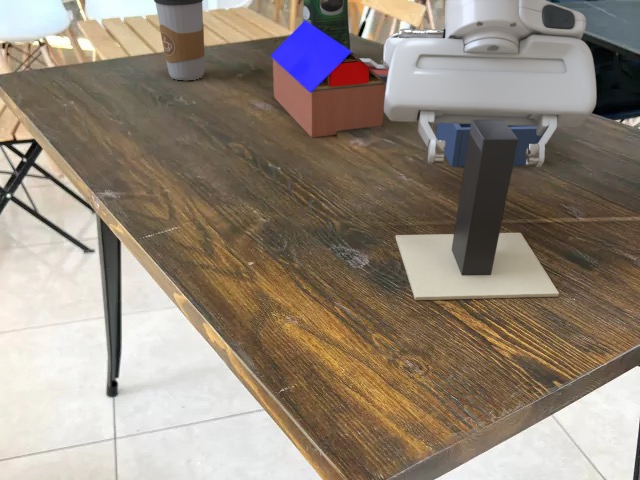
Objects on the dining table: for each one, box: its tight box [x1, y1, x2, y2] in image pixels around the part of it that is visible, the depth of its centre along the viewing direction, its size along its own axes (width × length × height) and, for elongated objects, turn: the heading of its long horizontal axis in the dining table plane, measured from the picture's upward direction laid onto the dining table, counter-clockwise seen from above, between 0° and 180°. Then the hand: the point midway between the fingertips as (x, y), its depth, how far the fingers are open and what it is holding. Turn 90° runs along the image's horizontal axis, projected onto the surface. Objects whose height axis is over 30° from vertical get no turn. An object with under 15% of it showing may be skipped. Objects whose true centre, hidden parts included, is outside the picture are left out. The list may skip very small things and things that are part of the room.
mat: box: [395, 232, 560, 301], centre depth 67 cm, size 14×12×1 cm
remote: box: [452, 120, 518, 275], centre depth 62 cm, size 3×5×14 cm, turn 2°
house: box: [270, 21, 386, 138], centre depth 100 cm, size 12×20×12 cm, turn 20°
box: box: [435, 123, 542, 168], centre depth 89 cm, size 12×11×6 cm
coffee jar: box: [302, 0, 351, 51], centre depth 123 cm, size 10×8×19 cm
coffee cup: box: [153, 0, 205, 81], centre depth 114 cm, size 8×8×15 cm
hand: (485, 163), depth 63 cm, fingers open, 8 cm apart
